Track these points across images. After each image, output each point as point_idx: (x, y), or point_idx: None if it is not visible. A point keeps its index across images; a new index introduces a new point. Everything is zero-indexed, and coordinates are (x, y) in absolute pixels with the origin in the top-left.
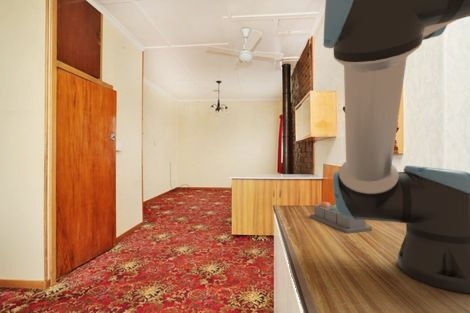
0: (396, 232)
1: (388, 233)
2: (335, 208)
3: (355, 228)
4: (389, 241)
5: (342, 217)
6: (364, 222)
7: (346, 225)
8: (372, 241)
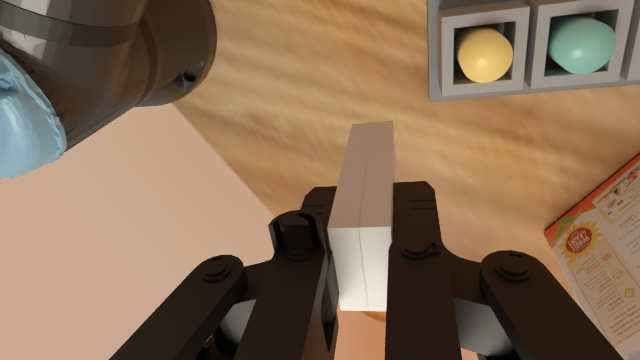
0: None
1: None
2: (572, 27)
3: (437, 35)
4: (326, 72)
5: (488, 10)
6: (439, 83)
7: (459, 8)
8: (337, 21)
